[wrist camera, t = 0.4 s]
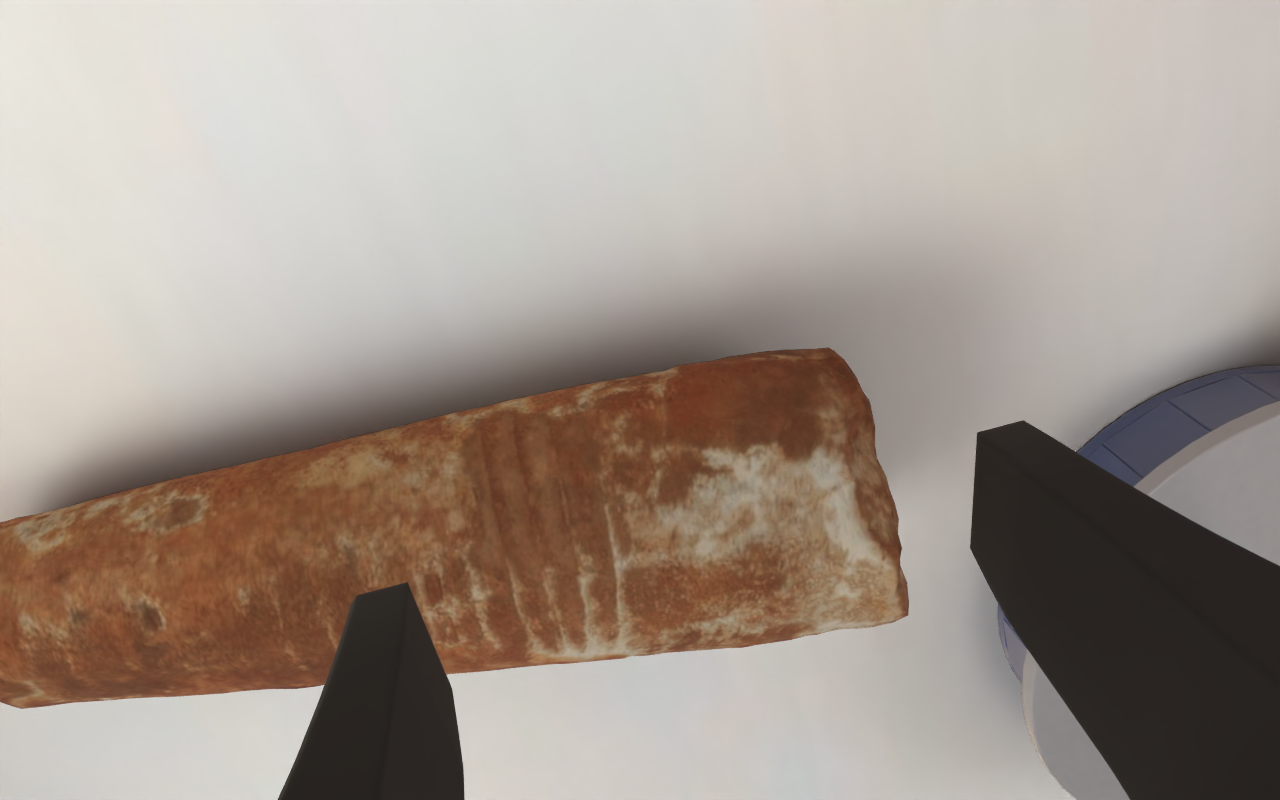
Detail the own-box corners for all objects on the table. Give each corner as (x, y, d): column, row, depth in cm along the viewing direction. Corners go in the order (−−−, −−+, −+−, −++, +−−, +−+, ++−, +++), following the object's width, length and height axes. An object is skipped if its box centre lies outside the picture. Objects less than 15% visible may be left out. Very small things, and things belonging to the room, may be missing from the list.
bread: (825, 528, 26) (917, 679, 21) (26, 657, 24) (-77, 861, 19) (832, 296, 23) (940, 410, 19) (-79, 414, 21) (-233, 582, 16)
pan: (1242, 742, 33) (1307, 811, 31) (926, 693, 30) (971, 768, 27) (1475, 419, 29) (1573, 470, 26) (1137, 315, 25) (1214, 362, 23)
